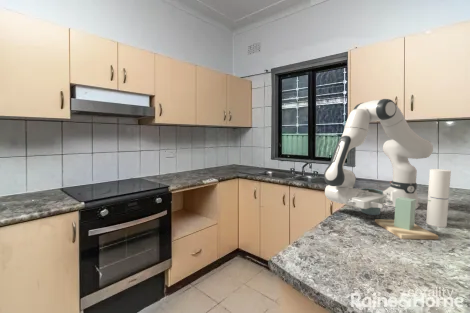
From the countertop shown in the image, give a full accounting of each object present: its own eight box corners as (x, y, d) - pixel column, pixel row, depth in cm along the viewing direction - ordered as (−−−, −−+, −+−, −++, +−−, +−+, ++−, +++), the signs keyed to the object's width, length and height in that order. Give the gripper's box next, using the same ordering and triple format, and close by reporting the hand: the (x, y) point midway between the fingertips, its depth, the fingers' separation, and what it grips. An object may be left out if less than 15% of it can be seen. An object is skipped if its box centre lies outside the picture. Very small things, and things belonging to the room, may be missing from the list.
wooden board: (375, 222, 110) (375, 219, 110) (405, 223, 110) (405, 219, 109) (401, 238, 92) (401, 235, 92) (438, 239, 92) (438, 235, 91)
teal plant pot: (375, 210, 129) (377, 188, 128) (385, 216, 119) (387, 192, 118) (356, 209, 130) (357, 187, 129) (364, 215, 120) (365, 192, 119)
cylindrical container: (438, 227, 104) (443, 171, 102) (422, 222, 111) (425, 169, 109) (450, 226, 106) (455, 170, 104) (433, 221, 113) (437, 168, 111)
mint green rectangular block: (394, 226, 101) (395, 198, 100) (399, 223, 104) (400, 196, 104) (409, 230, 97) (411, 201, 96) (414, 227, 100) (415, 199, 99)
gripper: (345, 194, 110) (377, 200, 99) (366, 189, 122) (397, 194, 111) (344, 207, 111) (376, 215, 100) (366, 201, 123) (396, 207, 111)
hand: (387, 204), depth 105 cm, fingers open, 8 cm apart
